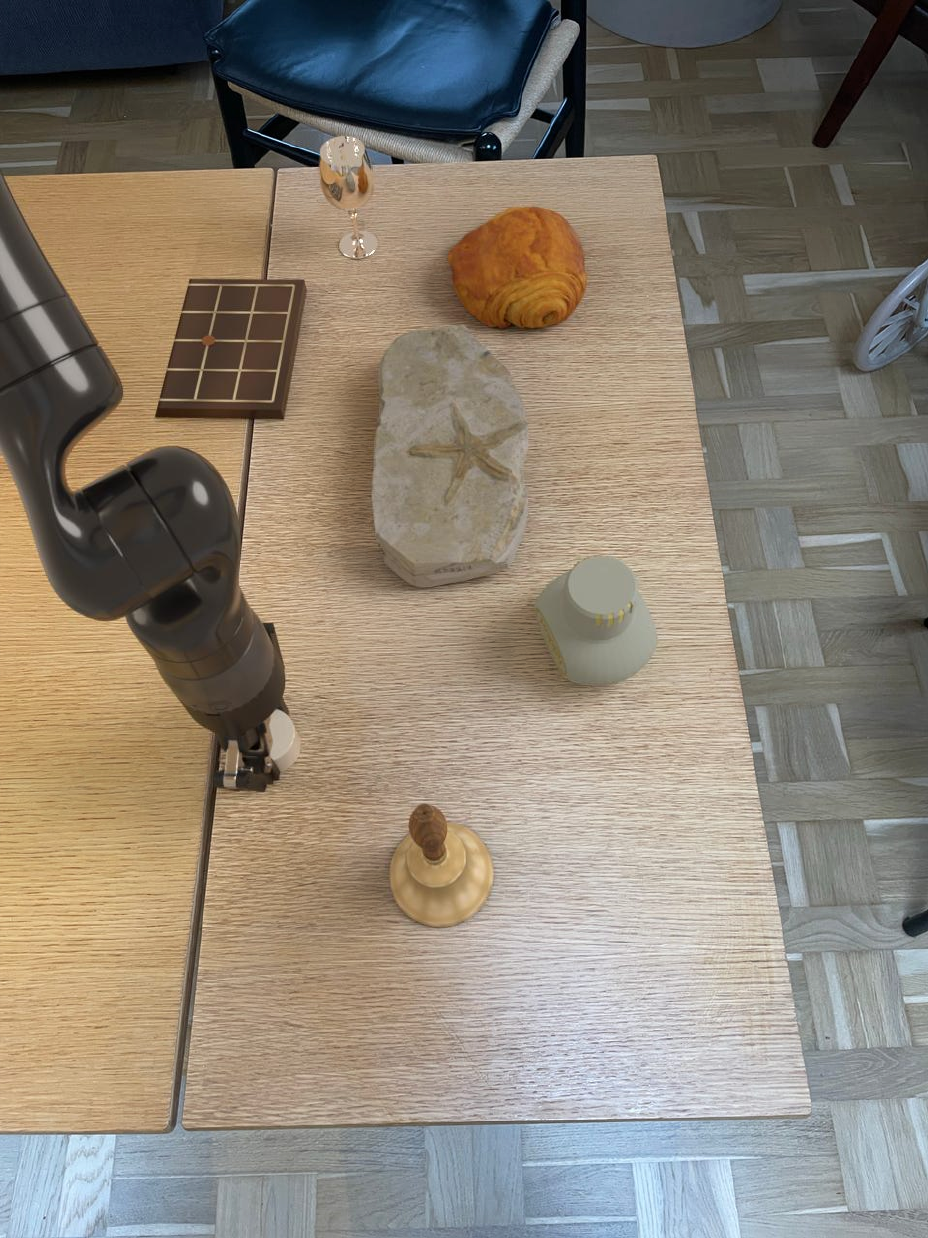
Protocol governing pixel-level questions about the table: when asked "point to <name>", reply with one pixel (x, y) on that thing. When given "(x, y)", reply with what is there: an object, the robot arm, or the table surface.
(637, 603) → the air freshener
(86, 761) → the table surface
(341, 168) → the wineglass
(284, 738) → the white short cylinder
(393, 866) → the hand bell
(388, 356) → the fossil stone
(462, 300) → the croissant
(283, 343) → the grid board
